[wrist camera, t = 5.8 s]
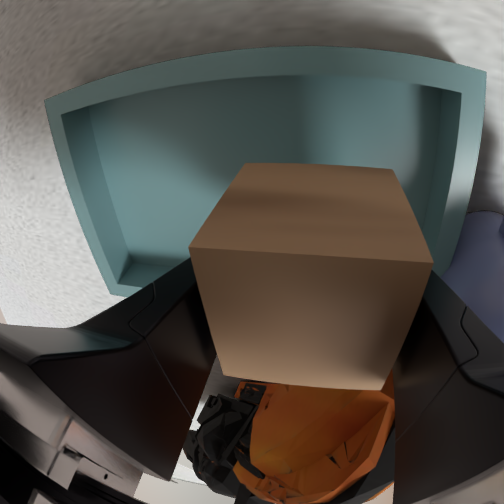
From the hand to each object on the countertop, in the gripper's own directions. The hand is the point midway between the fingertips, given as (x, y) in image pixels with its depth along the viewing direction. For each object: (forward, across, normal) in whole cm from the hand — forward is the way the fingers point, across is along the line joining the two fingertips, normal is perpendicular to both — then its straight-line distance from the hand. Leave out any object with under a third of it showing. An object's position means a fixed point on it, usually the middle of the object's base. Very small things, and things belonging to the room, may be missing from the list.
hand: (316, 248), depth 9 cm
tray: (+5, +3, 0) cm, 6 cm away
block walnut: (+1, 0, 0) cm, 1 cm away
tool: (+5, +2, +16) cm, 17 cm away
